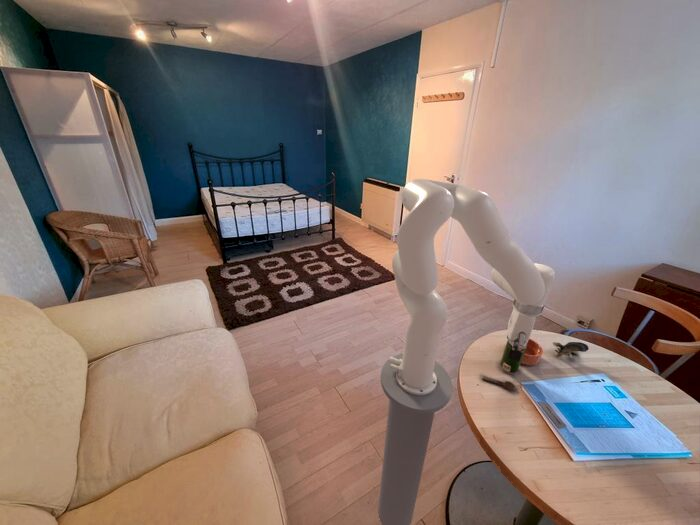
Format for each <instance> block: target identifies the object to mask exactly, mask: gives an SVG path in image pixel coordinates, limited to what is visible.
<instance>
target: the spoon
mask: <svg viewBox="0 0 700 525" xmlns="http://www.w3.org/2000/svg"><path fill="white" fill-rule="evenodd" d="M482 381H485V382H488V383H491V384H494V385H498V386H500V387H503V388H505V390H507V391H509V392H514V391H515V389H516V386H515V384H514V383H513V382H511V381H501V380H498V379H494V378H491V377H488V376H485V375H482Z"/></svg>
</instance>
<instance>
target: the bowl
mask: <svg viewBox="0 0 700 525" xmlns="http://www.w3.org/2000/svg"><path fill="white" fill-rule="evenodd" d="M543 354H544V350H543V347H542V346H541V345H540V343H538V342H537V341H535V340H534V339H533V338H529V340H528V342H527V348H526V350H525V353H524V356H523V359H522V361H521V364H522V365H526V366H536V365H538V364H539V363H540V361H541V359H542V357H543Z"/></svg>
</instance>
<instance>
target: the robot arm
mask: <svg viewBox="0 0 700 525" xmlns="http://www.w3.org/2000/svg"><path fill="white" fill-rule="evenodd" d="M400 196H401V197H400V199H401V203H402V205H403V207H404V208H405V209H406V210H407V211H408V213H407V214H406V216H405V217H404V218H403V221H402V222H401V224H400V225H399V228H398V229H397V235H396V245H397V250H396V251H395V252H394V254H393V256H392V260H391V266H392V273H393V276H394V280H395V284H396V288H397V293H398V295H399V297H400V300H401V301H402V303H403V304H404V306H405V308H406V310H407V312H408V314H409V317H410V321H409V323H408V324H407V326H406V329H405V334H404V343H403V352H402V354H403V359H400V360H398V359H396V358H393V356H390V357H389V359H388V360H389V363H392V364H391V365H390V368H391V369H395V370H396V380H397V383H398V384H399V386H400V387H401V388H402V389H404V390H405V391H407V392H408V393H411V394H414V395H426V394H429V393H431V392H432V391H433V390H434V389H435V387H436V384H437V378H436V375H435V373H434V372H433V371H434V366H435V361H436V360H437V356H438V349H439V344H440V339H441V334H442V331H443V328H444V326H445V325H446V322H447V320H448V317H449V309H448V307H447V304H446V302H445V301H444V299H443V297H442V296H441V295H440V294H439V293H438V292H437V290H435V289H436V288H437V286H438V283H439V270H438V265H437V259H436V257H437V256H436V252H435V236H436V235H437V233H438V231H439V230H440V229H441V228H442V226H444V225H445V224H446V222H448V220H449V219H450V218H452V219H453V220H455V221H457V222H458V223H459V224H460V226H461V227H462V229H463V230H464V232H465V233H466V235H467V237H468V238H469V240H470V242H471V244H472V245H473V247H474V249H475V251H476V252H477V253H478V255H479V256H480V257H481V258H482V259H483V260H484V261H485V262H486V263H487V264H488V265H489V266H490V267H492V269H491V273H490V276H491V277H490V278H491V280H492V282H493V283H494V284H495V285H496V286H497V287H498V288H499V289H501V290H502V291H504V292H505V293H506V294H507V295H508V296H510V297H511V298H512V299H513V301H512V307H513V309H512V311H511V314H510V317H509V320H508V322H507V336H506V339H507V340H508V338H509V340H512V341H513V345H512V347H511V348H510V351H509V354H508V358H509V359H512V360H516V361H520V358H521V355H522V353H523V348H524V344H526V343H527V342H528V340H529V339H531V338H530V337H531V335H532V333H533V329H534V326H535V323H536V318H537V317H539V316H541V315H542V314H543V312H544V309H545V306H546V302H547V300H548V297H549V294H550V292H551V290H552V287H553V284H554V282H555V279H556V271H555V270H554V268H552V267H551V266H549V265H546V264H544V263H543V264H542V263H535V262H533V261H532V259H531V258H530V257H529V256H528V255H527V253H526V252H525V251H524V250H523V248H522V247H521V246H520V245H519V243H518V242H517V241H516V240H515V239H514V238H513V236H512V235H511V233H510V232H509V229H508V227H507V226H506V223H505V221H504V219H503V217H502V215H501V213H500V211H499V209H498V207H497V205H496V203H495V201H494V200H493V198H492V197H491V196H490V195H489V194H488V193H486V192H484V191H482V190H479V189H477V188H473V187H470V186H468V185H463V184H457V183H450V182H444V181H440V180H439V181H438V180H432V179H426V178H415V179H412V180H410V181H409V182H407V184H405V185H404V187H403V189H402V191H401V195H400ZM516 338H519V340H516ZM516 342H518V346H515V344H516ZM436 362H437V361H436ZM393 364H396V365H398V366H395V365H393Z"/></svg>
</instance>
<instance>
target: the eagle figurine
mask: <svg viewBox="0 0 700 525" xmlns="http://www.w3.org/2000/svg"><path fill="white" fill-rule="evenodd" d="M552 345H553V346H554V347H556V349H557V350H556V349H554V351H555V352H556V353H557V354H556V355H555V356H556V358H558V357H561V356H567V357H568V358H569V359H570V360H571V361H573V355H572V353H573V354H575V355H578V353H577V352H581V353H585V352H587V351H589V350H590V348H589V345H588V344H586V343H584V342H580V341H568V342H567V343H565V344H562V343H561V342H557V341H553V342H552Z"/></svg>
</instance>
